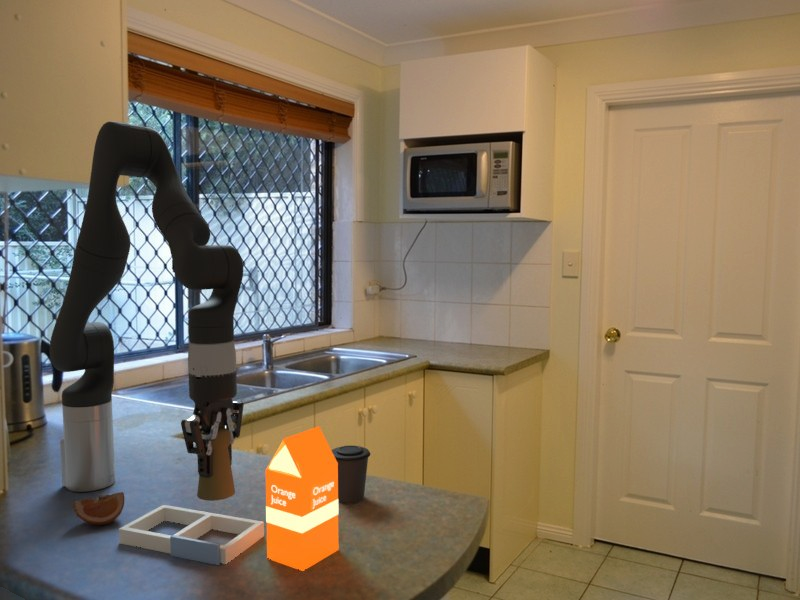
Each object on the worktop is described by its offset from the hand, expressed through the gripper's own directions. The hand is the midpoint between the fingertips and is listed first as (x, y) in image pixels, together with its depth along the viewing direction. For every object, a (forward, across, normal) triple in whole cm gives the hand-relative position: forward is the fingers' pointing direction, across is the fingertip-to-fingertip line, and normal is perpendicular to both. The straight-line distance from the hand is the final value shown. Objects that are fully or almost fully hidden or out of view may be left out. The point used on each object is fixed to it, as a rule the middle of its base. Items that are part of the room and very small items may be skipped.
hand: (215, 471), depth 114 cm
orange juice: (+13, -2, +15) cm, 20 cm away
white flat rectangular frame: (+12, 0, -5) cm, 13 cm away
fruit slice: (+13, 0, -25) cm, 28 cm away
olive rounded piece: (+4, 0, 0) cm, 4 cm away
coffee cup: (+13, -26, +12) cm, 31 cm away
